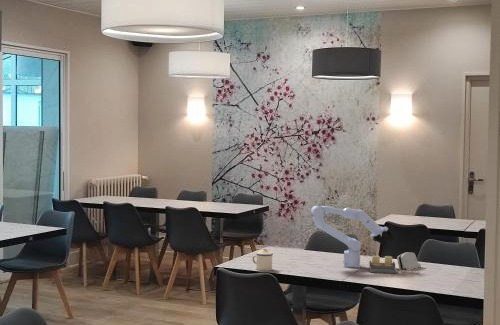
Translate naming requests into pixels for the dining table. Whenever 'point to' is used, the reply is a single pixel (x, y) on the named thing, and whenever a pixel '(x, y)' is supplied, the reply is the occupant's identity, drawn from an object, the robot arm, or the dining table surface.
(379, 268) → the tray
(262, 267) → the teacup with lid
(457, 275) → the dining table surface
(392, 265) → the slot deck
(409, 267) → the light grey rounded slab
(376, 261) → the wooden cube
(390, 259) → the tan wooden cube
